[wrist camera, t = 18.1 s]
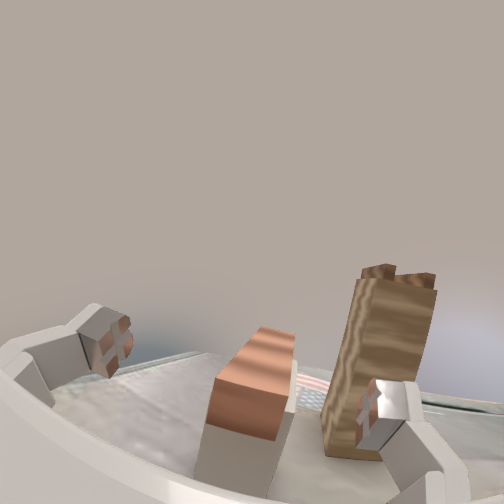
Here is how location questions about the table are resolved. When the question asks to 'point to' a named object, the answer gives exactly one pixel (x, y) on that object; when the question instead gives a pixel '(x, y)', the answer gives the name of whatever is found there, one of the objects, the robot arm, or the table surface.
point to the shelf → (243, 454)
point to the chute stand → (376, 349)
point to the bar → (254, 386)
